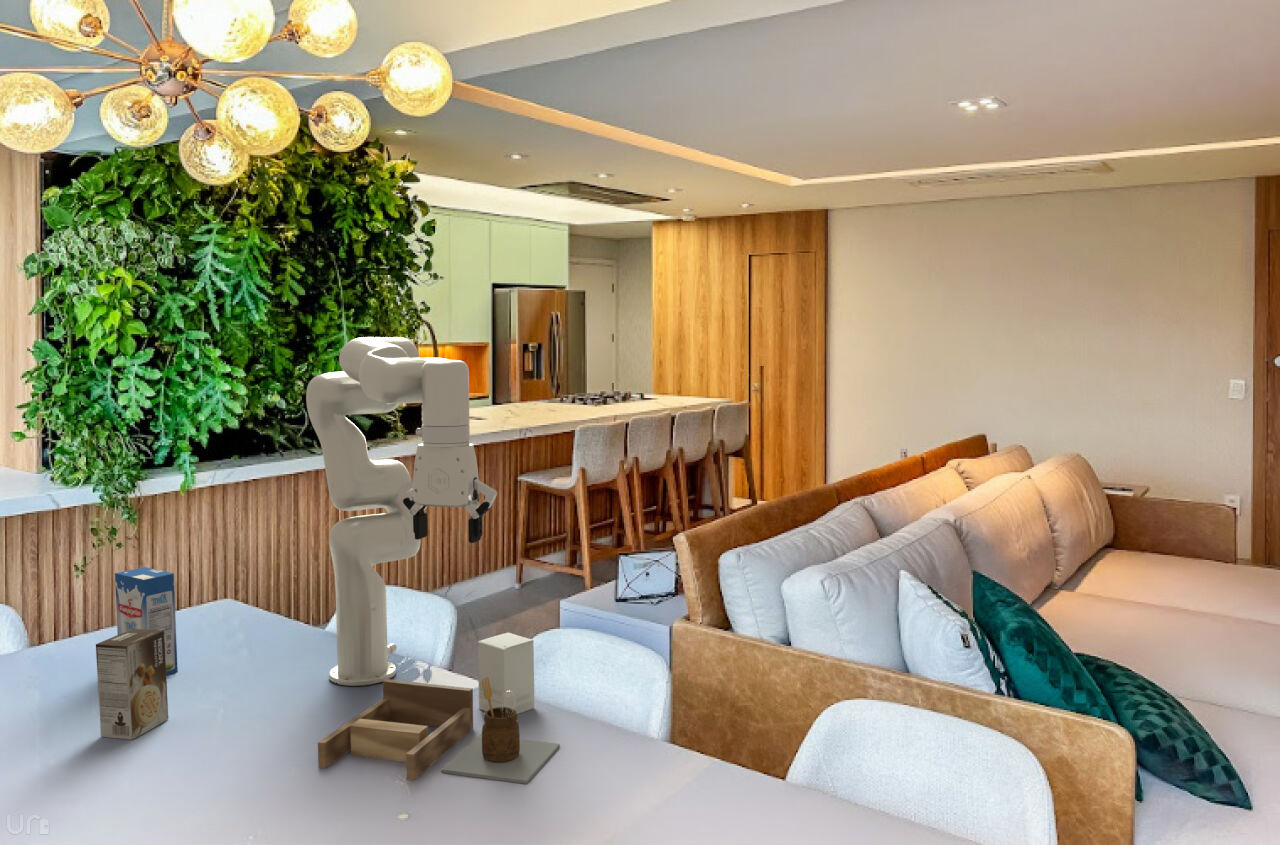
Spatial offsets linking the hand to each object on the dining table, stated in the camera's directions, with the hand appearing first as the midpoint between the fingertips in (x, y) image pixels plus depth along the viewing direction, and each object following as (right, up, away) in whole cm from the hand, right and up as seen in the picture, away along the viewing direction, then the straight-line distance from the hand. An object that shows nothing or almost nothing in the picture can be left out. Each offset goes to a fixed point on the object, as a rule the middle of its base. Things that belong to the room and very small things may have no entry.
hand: (447, 539), depth 163 cm
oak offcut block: (-8, -34, -5) cm, 35 cm away
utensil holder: (+9, -34, -6) cm, 35 cm away
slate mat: (+10, -34, -6) cm, 36 cm away
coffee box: (-54, -33, +6) cm, 64 cm away
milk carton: (-66, -31, +34) cm, 80 cm away
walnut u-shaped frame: (-8, -34, -2) cm, 35 cm away
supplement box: (+8, -32, +15) cm, 37 cm away
